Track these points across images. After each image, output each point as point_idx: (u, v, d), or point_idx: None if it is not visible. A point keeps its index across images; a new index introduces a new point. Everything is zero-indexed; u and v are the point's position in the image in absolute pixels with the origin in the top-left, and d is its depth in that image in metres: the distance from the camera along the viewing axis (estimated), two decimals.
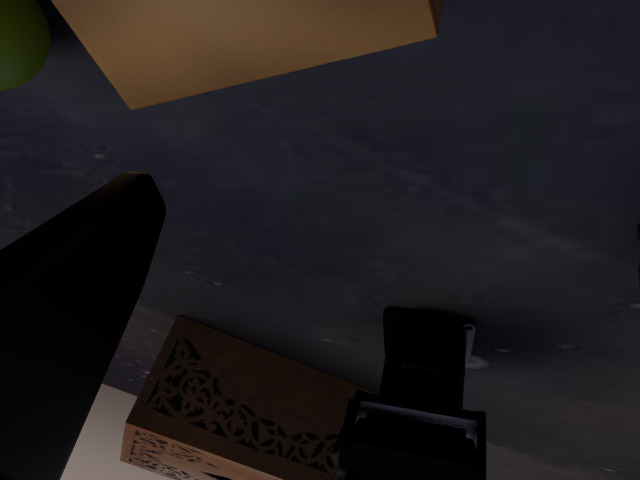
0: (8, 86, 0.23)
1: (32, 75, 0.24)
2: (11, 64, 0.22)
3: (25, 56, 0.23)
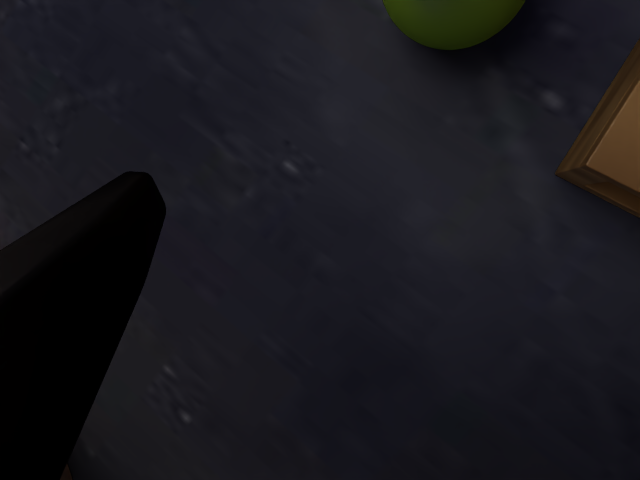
0: (434, 20, 0.17)
1: (447, 42, 0.18)
2: (483, 10, 0.17)
3: (489, 23, 0.17)
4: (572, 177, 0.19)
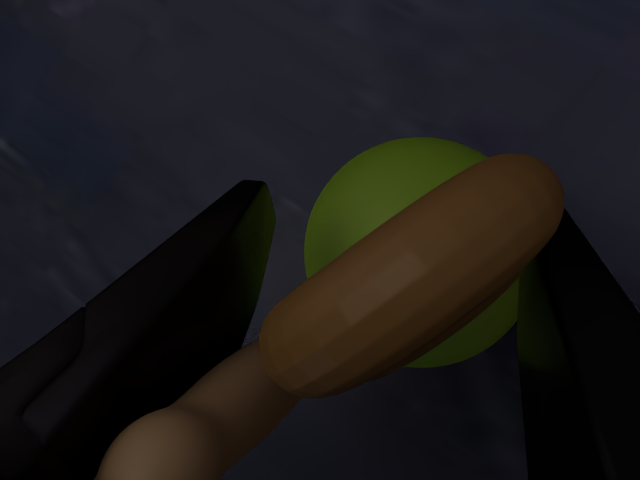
0: None
1: None
2: (454, 356, 0.11)
3: None
4: None
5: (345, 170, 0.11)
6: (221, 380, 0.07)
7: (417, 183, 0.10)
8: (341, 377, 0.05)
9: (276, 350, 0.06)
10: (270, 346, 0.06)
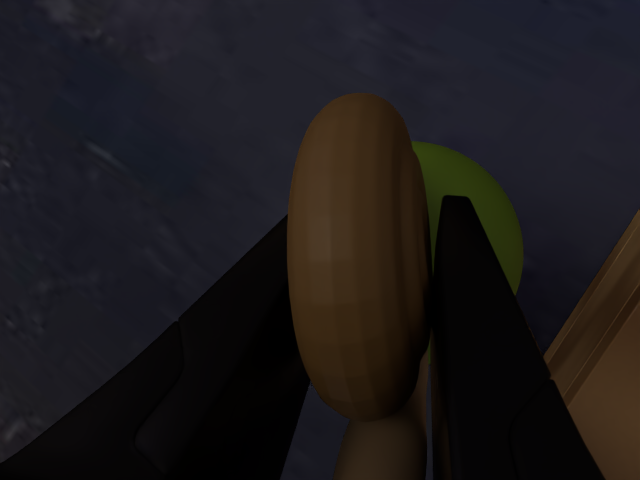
0: None
1: None
2: None
3: (518, 272, 0.11)
4: None
5: None
6: (342, 466, 0.07)
7: None
8: (378, 347, 0.05)
9: (329, 387, 0.06)
10: (327, 393, 0.06)
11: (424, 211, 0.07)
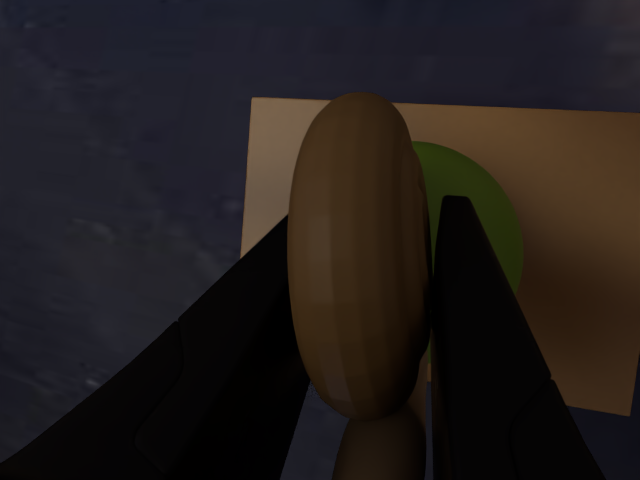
0: None
1: None
2: None
3: (518, 272, 0.11)
4: None
5: None
6: (341, 465, 0.07)
7: None
8: (378, 347, 0.05)
9: (328, 387, 0.06)
10: (326, 392, 0.06)
11: (424, 211, 0.07)
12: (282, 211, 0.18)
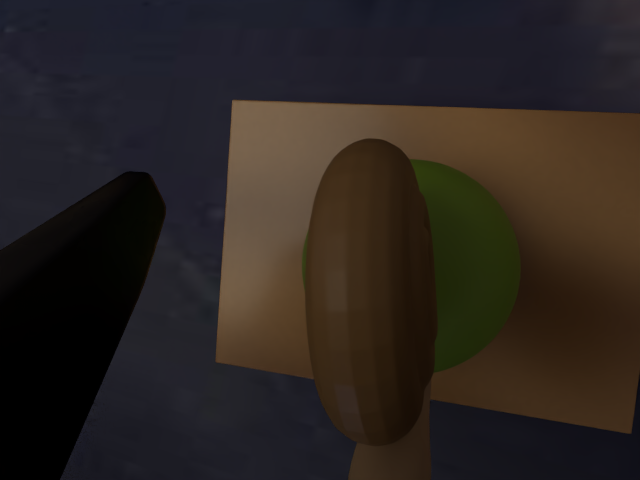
0: (466, 353, 0.12)
1: (491, 340, 0.12)
2: (504, 295, 0.11)
3: (516, 288, 0.12)
4: None
5: (303, 275, 0.13)
6: None
7: None
8: (390, 387, 0.06)
9: (344, 421, 0.06)
10: (341, 424, 0.07)
11: (429, 246, 0.08)
12: (264, 219, 0.17)
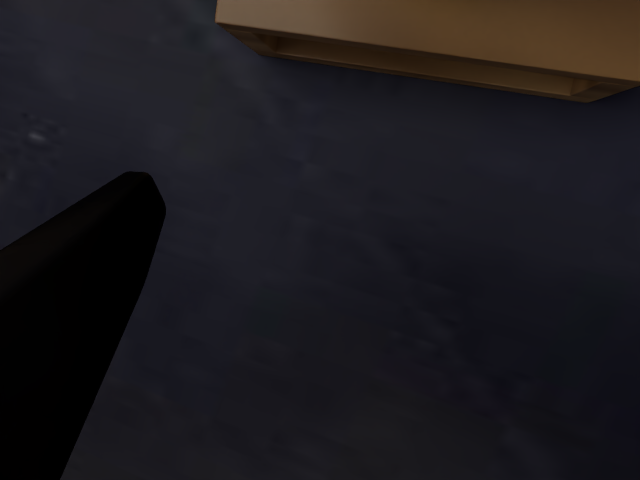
0: None
1: None
2: None
3: None
4: (258, 48, 0.19)
5: None
6: None
7: None
8: None
9: None
10: None
11: None
12: None
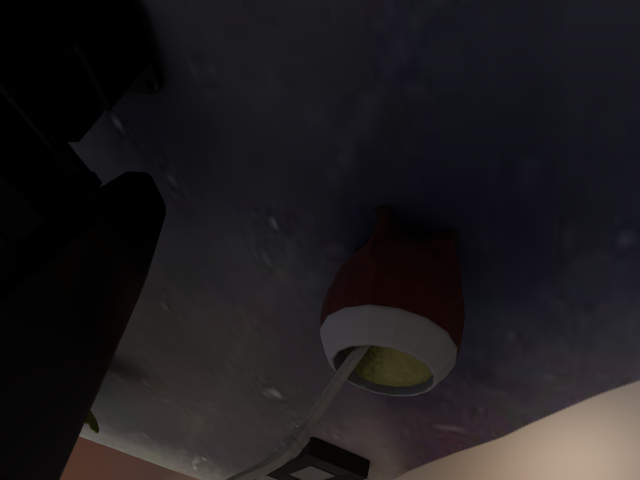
0: None
1: None
2: None
3: None
4: None
5: None
6: None
7: None
8: None
9: None
10: None
11: None
12: None
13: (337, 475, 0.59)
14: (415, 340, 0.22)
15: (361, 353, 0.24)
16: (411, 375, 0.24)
